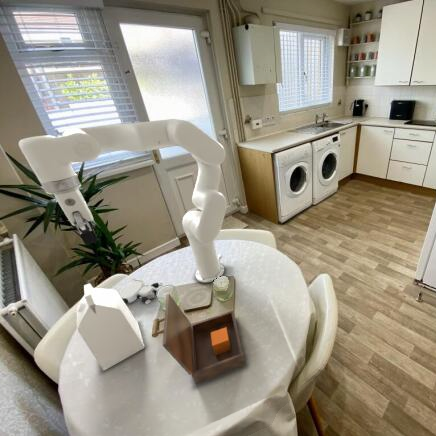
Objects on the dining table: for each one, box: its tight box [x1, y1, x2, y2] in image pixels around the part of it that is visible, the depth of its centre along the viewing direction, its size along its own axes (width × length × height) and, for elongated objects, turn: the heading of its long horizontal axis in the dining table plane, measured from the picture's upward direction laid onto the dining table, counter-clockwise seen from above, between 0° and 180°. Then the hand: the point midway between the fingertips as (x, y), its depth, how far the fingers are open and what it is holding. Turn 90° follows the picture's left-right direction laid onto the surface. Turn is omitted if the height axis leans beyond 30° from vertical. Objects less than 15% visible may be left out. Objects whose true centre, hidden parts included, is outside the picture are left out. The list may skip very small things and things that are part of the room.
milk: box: [75, 283, 145, 371], centre depth 75 cm, size 12×12×26 cm
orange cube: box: [211, 327, 231, 355], centre depth 78 cm, size 5×5×5 cm
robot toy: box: [118, 278, 163, 305], centre depth 99 cm, size 12×4×15 cm
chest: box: [191, 310, 246, 385], centre depth 78 cm, size 15×18×5 cm
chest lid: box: [151, 293, 192, 376], centre depth 69 cm, size 15×18×5 cm
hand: (90, 236), depth 74 cm, fingers open, 9 cm apart
